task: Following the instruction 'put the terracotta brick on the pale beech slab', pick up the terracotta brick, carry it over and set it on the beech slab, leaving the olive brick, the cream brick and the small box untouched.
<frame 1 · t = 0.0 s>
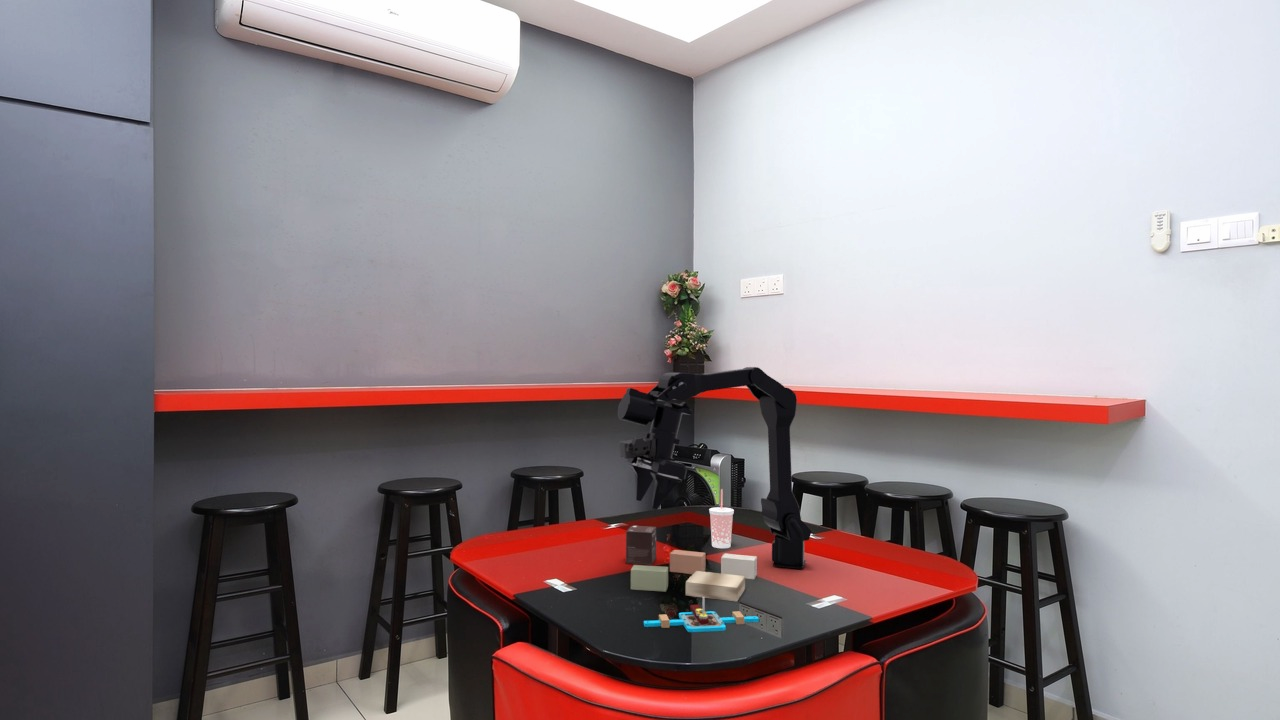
hand: (646, 504, 146), 15 cm above the table, tool pointing down, fingers open, 9 cm apart
box: (641, 562, 160), on the table
beverage cup: (721, 546, 174), on the table
beech slab: (715, 594, 138), on the table
terracotta brick: (687, 571, 152), on the table
olive brick: (649, 588, 140), on the table
cream brick: (738, 575, 149), on the table
gear mechanism: (700, 625, 121), on the table
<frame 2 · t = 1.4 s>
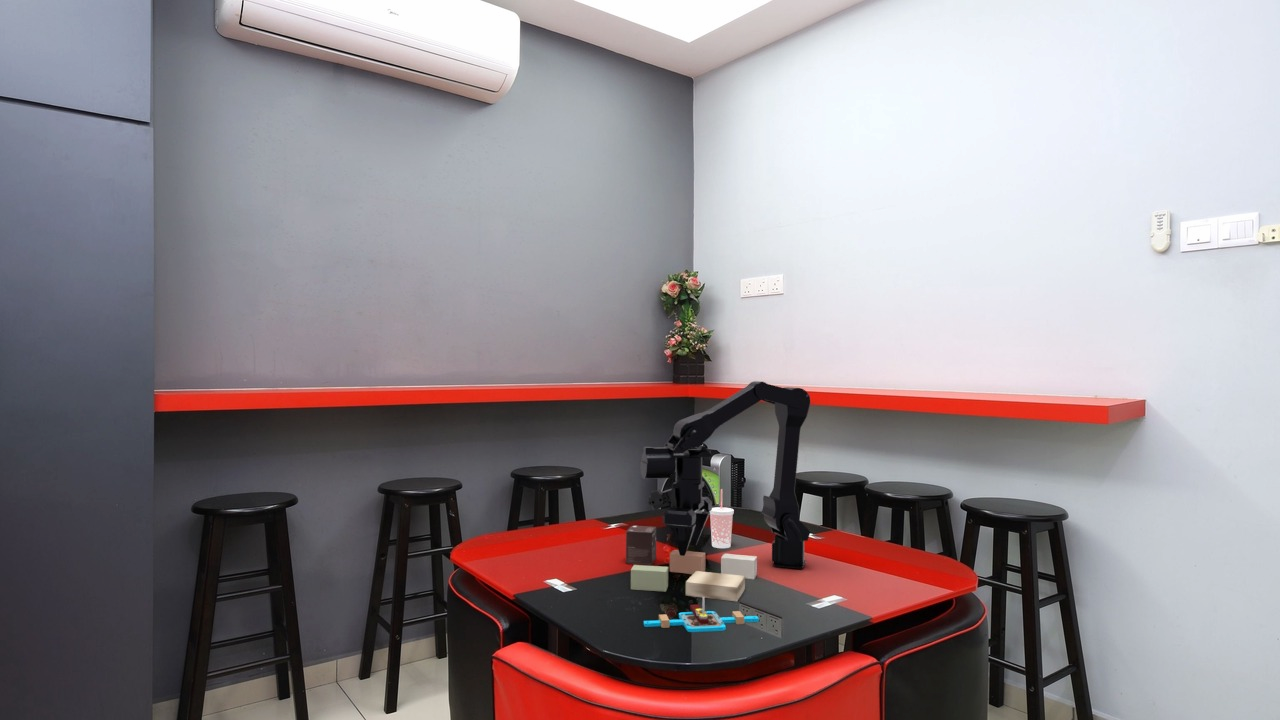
hand: (688, 550, 152), 4 cm above the table, tool pointing down, fingers open, 9 cm apart
nothing on the table moved.
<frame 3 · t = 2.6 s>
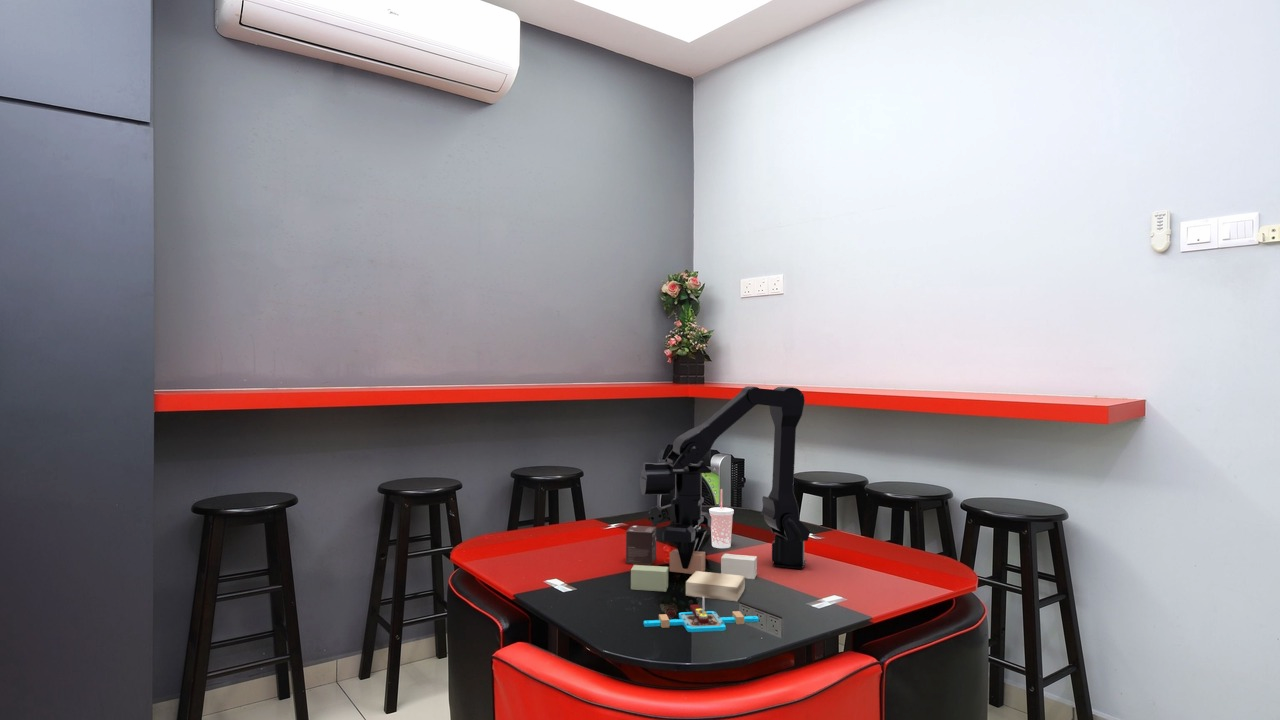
hand: (687, 566, 152), 1 cm above the table, tool pointing down, fingers closed on terracotta brick, 3 cm apart
terracotta brick: (687, 571, 152), on the table, touching gripper
everything else where it was.
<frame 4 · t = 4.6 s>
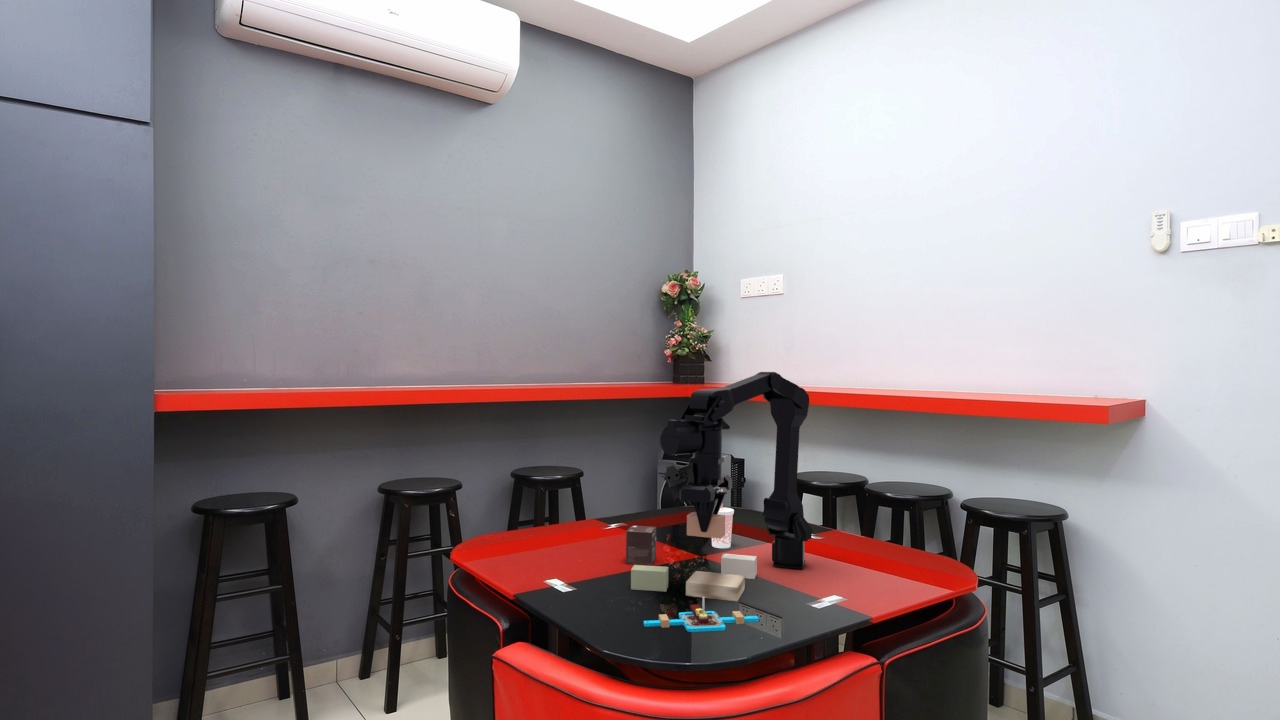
hand: (706, 529, 142), 11 cm above the table, tool pointing down, fingers closed on terracotta brick, 3 cm apart
terracotta brick: (705, 535, 142), point 10 cm above the table, touching gripper
everything else where it was.
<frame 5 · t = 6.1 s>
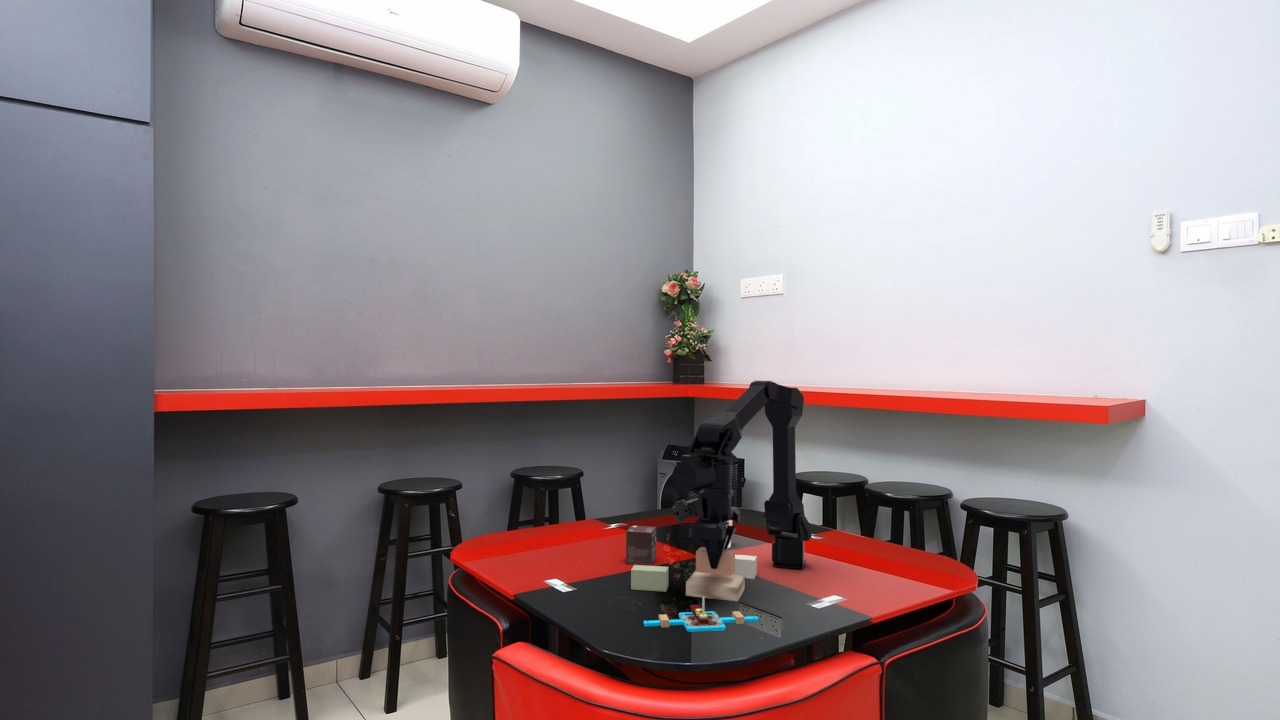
hand: (716, 566, 138), 5 cm above the table, tool pointing down, fingers closed on terracotta brick, 3 cm apart
terracotta brick: (715, 571, 138), point 4 cm above the table, touching gripper
everything else where it was.
when the fingers open (5 cm above the table, at t = 6.3 s): terracotta brick drops 1 cm, resting on beech slab.
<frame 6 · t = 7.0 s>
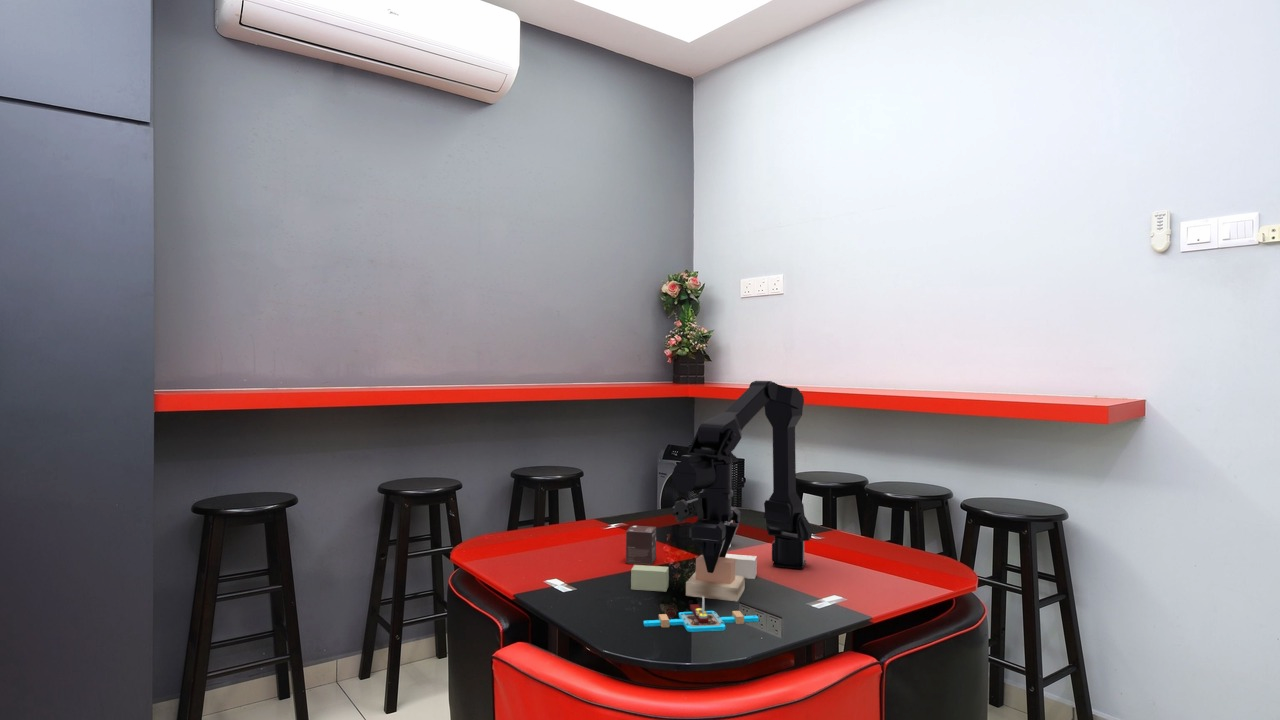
hand: (716, 566, 138), 5 cm above the table, tool pointing down, fingers open, 9 cm apart
beech slab: (715, 594, 138), on the table, touching terracotta brick
terracotta brick: (715, 579, 138), point 2 cm above the table, touching beech slab
everything else where it was.
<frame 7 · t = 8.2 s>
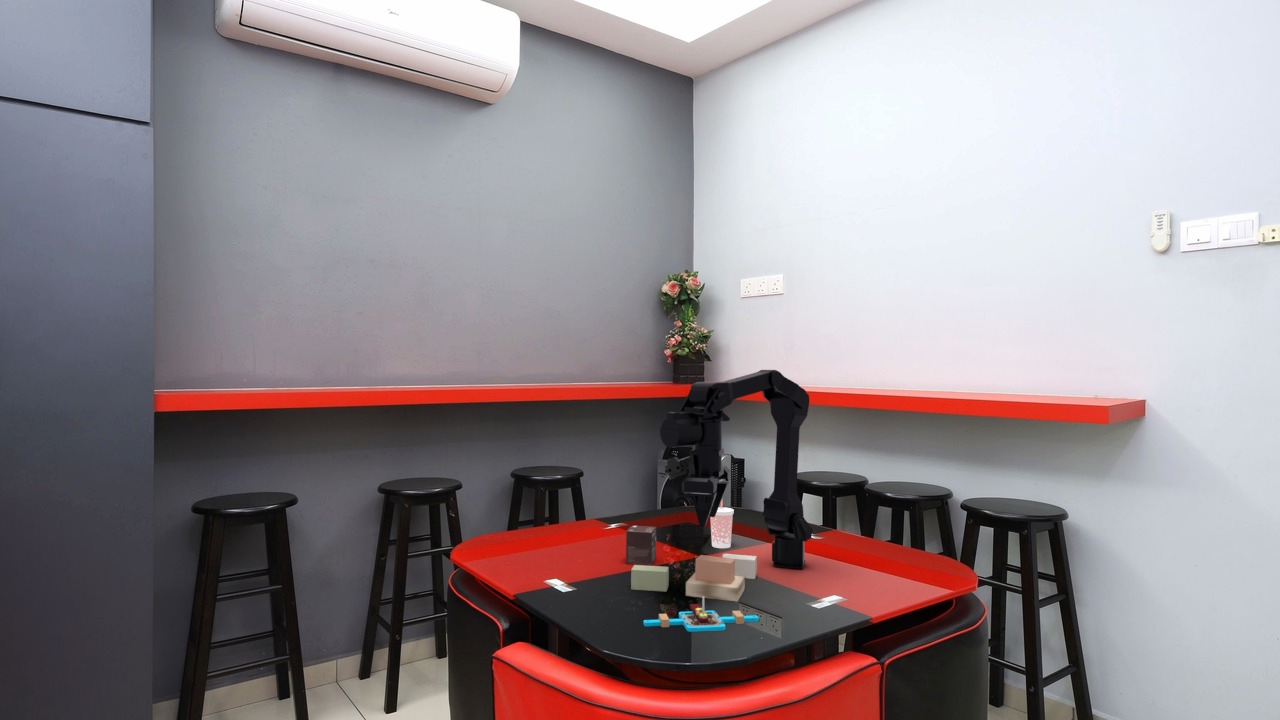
hand: (707, 521, 142), 13 cm above the table, tool pointing down, fingers open, 9 cm apart
nothing on the table moved.
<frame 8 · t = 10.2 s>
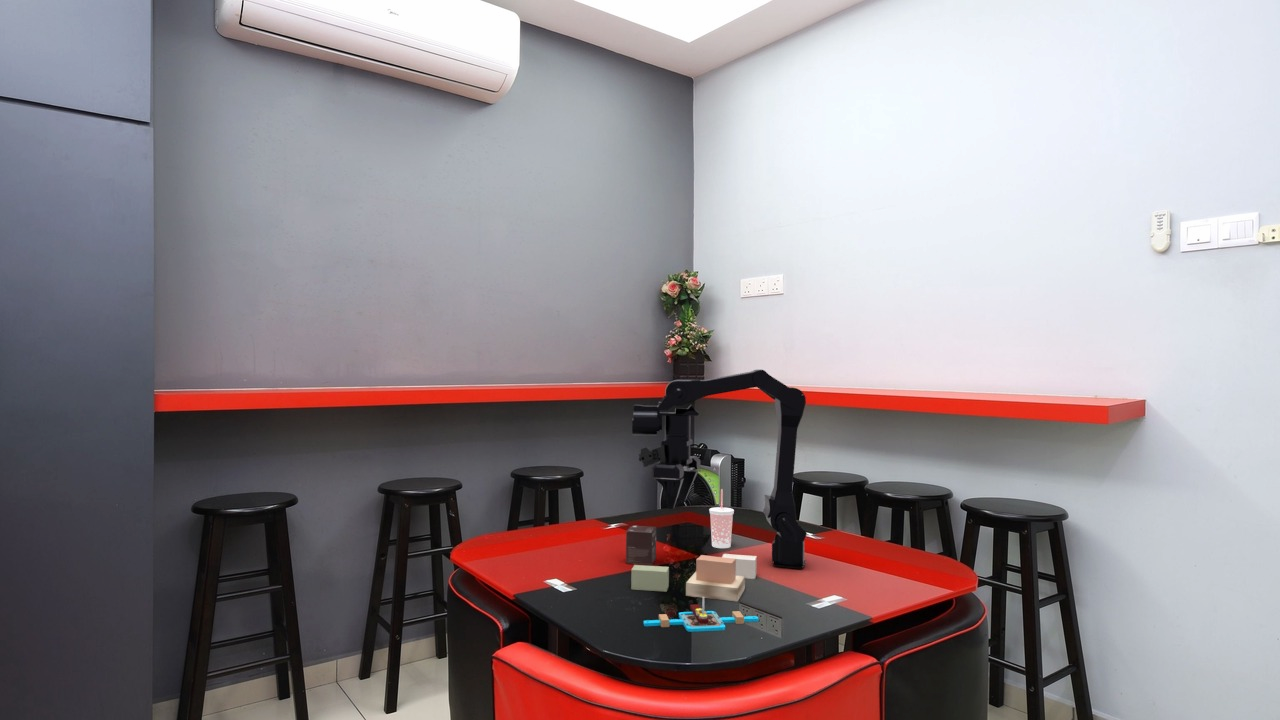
hand: (676, 505, 158), 13 cm above the table, tool pointing down, fingers open, 9 cm apart
nothing on the table moved.
at the end: terracotta brick inside the target area on the beech slab (0.1 cm from its centre), point 3.0 cm above the beech slab's base; olive brick moved 0.2 cm from its start; cream brick moved 0.2 cm from its start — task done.
